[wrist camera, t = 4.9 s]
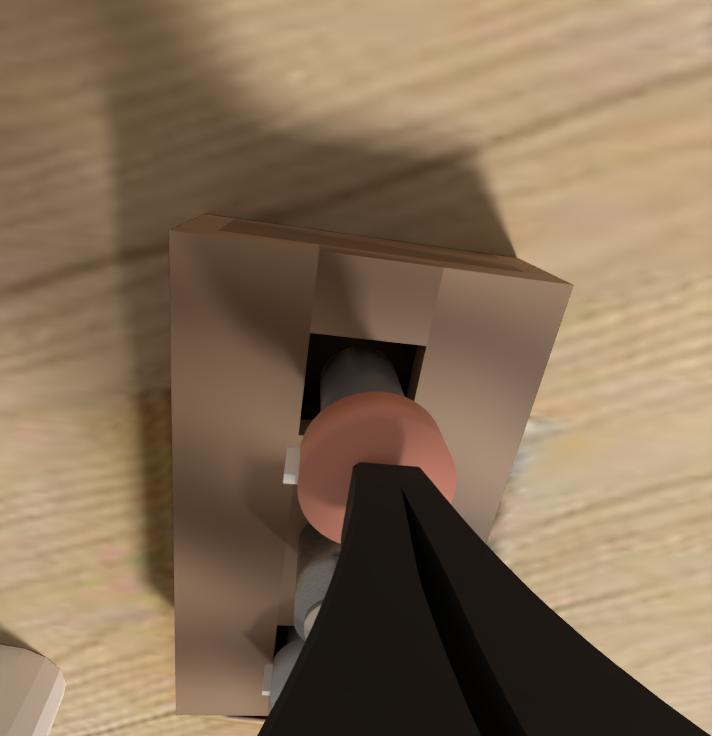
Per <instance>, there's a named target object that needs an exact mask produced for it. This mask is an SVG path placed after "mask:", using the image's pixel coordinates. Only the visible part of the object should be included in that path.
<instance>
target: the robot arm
mask: <svg viewBox="0 0 712 736" xmlns="http://www.w3.org/2000/svg"><path fill="white" fill-rule="evenodd" d="M257 736H710V735H709V734H708V733H706V732H705V731H703V730H702V729H701V728H699V727H698V726H696V725H695V724H694V723H692V722H691V721H690V720H688V719H687V718H685V717H684V716H683V715H681V714H680V713H679V712H677V711H676V710H675V709H673V708H672V707H670V706H669V705H668V704H666V703H665V702H664V701H662V700H661V699H660V698H658V697H657V696H656V695H655V694H653V693H652V692H651V691H649V690H648V689H647V688H646V687H644V686H643V685H642V684H640V683H639V682H638V681H637V680H635V679H634V678H633V677H631V676H630V675H629V674H628V673H626V672H625V671H624V670H623V669H621V668H620V667H619V666H617V665H616V664H615V663H614V662H612V661H611V660H610V659H609V658H607V657H606V656H605V655H604V654H603V653H601V652H600V651H599V650H598V649H596V648H595V647H594V646H593V645H592V644H590V643H589V642H588V641H587V640H586V639H585V638H583V637H582V636H581V635H580V634H579V633H578V632H577V631H575V630H574V629H573V628H572V627H571V626H570V625H569V624H568V623H566V622H565V621H564V620H563V619H562V618H561V617H560V616H558V615H557V614H556V613H555V612H554V611H553V610H552V609H551V608H549V607H548V606H547V605H546V604H545V603H544V602H543V601H542V600H541V599H540V598H539V597H538V596H537V595H535V594H534V593H533V592H532V591H531V590H530V589H529V588H528V587H527V586H526V585H525V584H524V583H523V582H522V581H521V580H520V579H519V578H518V577H517V576H516V575H515V574H514V573H513V572H512V571H511V570H510V569H509V568H508V567H507V566H506V565H505V564H504V563H503V562H502V561H501V560H500V559H499V557H498V556H497V555H496V554H495V553H494V552H493V551H492V550H491V549H490V548H489V547H488V546H487V545H486V544H485V543H484V541H483V540H482V539H481V538H480V537H479V536H478V535H477V534H476V533H475V531H474V530H473V529H472V528H471V527H470V526H469V525H468V524H467V522H466V521H465V520H464V519H463V518H462V517H461V515H460V514H459V513H458V512H457V511H456V510H455V508H454V507H453V506H452V505H451V504H450V503H449V501H448V500H447V499H446V498H445V497H444V495H443V494H442V493H441V492H440V491H439V489H438V488H437V487H436V486H435V485H434V483H433V482H432V481H431V480H430V479H429V477H428V476H427V475H426V474H425V473H424V471H423V470H422V469H421V468H420V467H416V466H404V465H391V464H378V463H365V462H359V463H357V464H356V465H354V466H353V469H352V475H351V481H350V487H349V492H348V498H347V504H346V510H345V516H344V521H343V527H342V533H341V551H340V555H339V558H338V561H337V564H336V567H335V571H334V574H333V576H332V579H331V582H330V584H329V587H328V590H327V592H326V595H325V597H324V600H323V602H322V605H321V607H320V609H319V612H318V614H317V617H316V619H315V621H314V624H313V626H312V628H311V630H310V633H309V635H308V637H307V639H306V641H305V643H304V645H303V648H302V650H301V652H300V654H299V656H298V658H297V660H296V663H295V665H294V667H293V669H292V671H291V673H290V675H289V677H288V679H287V681H286V683H285V685H284V687H283V689H282V691H281V693H280V695H279V697H278V699H277V700H276V702H275V704H274V706H273V708H272V710H271V711H270V713H269V715H268V717H267V719H266V721H265V722H264V724H263V726H262V728H261V730H260V732H259V734H258V735H257Z"/></svg>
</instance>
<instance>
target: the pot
mask: <svg viewBox="0 0 712 736" xmlns="http://www.w3.org/2000/svg"><path fill="white" fill-rule="evenodd" d="M340 551H341V544H340V543H337V542H335V541H333V540H331V539H329V538H327V537H326V536H324V535H322V534H321V533H320V532H319V531H317V530H316V529H315V528H314V527H313V526H312V525H311V524H310V523H309V524H308V525H306V526H305V528H304V529H303V530H302V532H301V533H300V536H299V539H298V553H297V572H296V590H295V609H294V627H295V629H296V631H297V633H298V635H299V636H300V637H301V638H302V639H303V640H304V641H306V639H307V637H308V635H309V633H310V630H311V628H312V626H313V624H314V621H315V619H316V617H317V614H318V612H319V609H320V607H321V605H322V602H323V600H324V597H325V595H326V592H327V590H328V587H329V584H330V582H331V579H332V576H333V574H334V571H335V567H336V564H337V561H338V558H339V555H340Z"/></svg>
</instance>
